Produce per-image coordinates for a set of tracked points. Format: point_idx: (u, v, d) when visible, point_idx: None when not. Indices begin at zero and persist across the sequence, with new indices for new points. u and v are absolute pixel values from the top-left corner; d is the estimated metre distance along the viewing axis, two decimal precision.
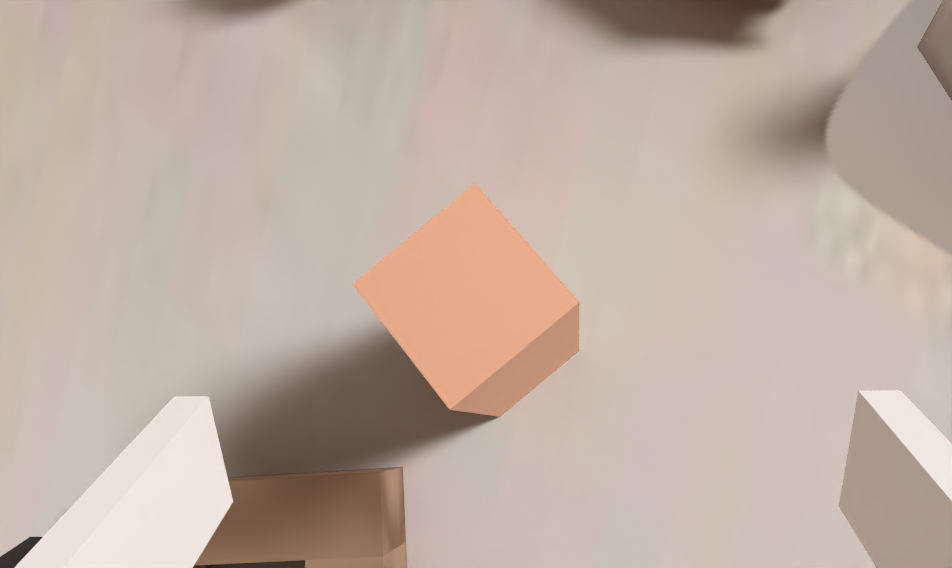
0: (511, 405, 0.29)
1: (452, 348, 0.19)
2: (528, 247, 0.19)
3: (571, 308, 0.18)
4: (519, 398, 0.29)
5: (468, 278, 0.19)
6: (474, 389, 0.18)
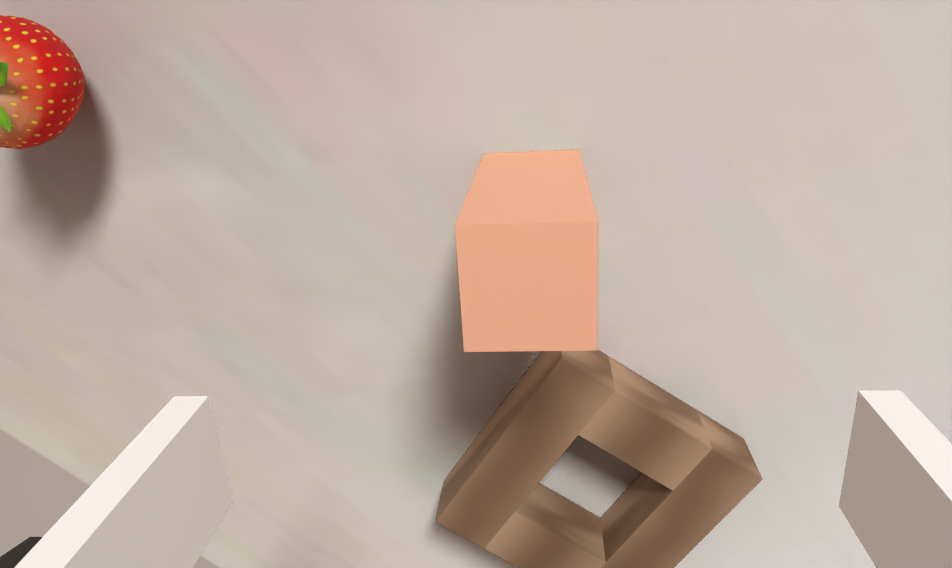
0: None
1: (559, 321, 0.23)
2: (532, 225, 0.21)
3: (597, 228, 0.21)
4: None
5: (521, 278, 0.22)
6: (597, 326, 0.23)
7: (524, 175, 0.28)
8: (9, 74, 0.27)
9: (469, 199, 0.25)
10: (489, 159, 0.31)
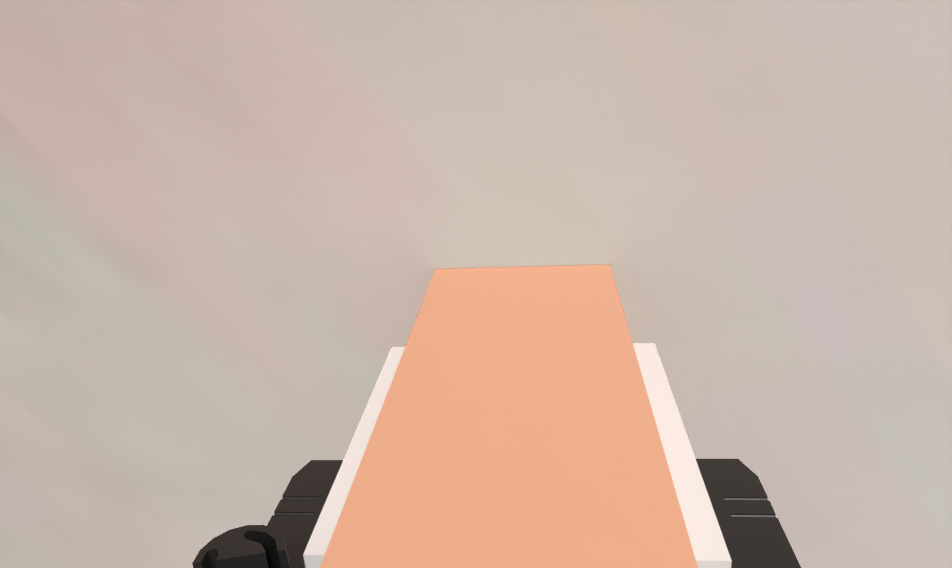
0: None
1: None
2: None
3: None
4: None
5: None
6: None
7: (505, 362, 0.13)
8: None
9: (362, 486, 0.10)
10: (441, 291, 0.16)
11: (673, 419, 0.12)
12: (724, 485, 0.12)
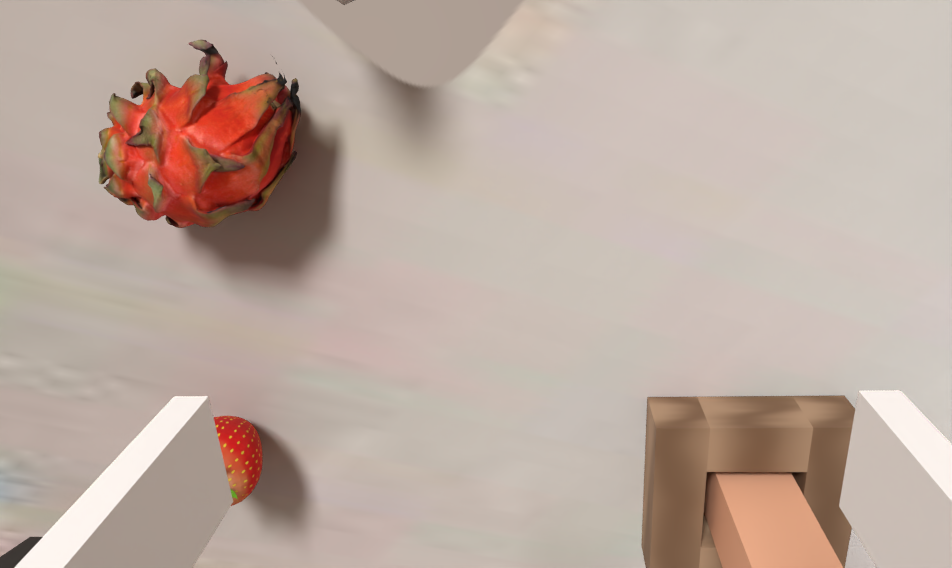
0: None
1: None
2: None
3: None
4: None
5: None
6: None
7: (761, 499, 0.40)
8: None
9: (745, 543, 0.37)
10: None
11: None
12: None
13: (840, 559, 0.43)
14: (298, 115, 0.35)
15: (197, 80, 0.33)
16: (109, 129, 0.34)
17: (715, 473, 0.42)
